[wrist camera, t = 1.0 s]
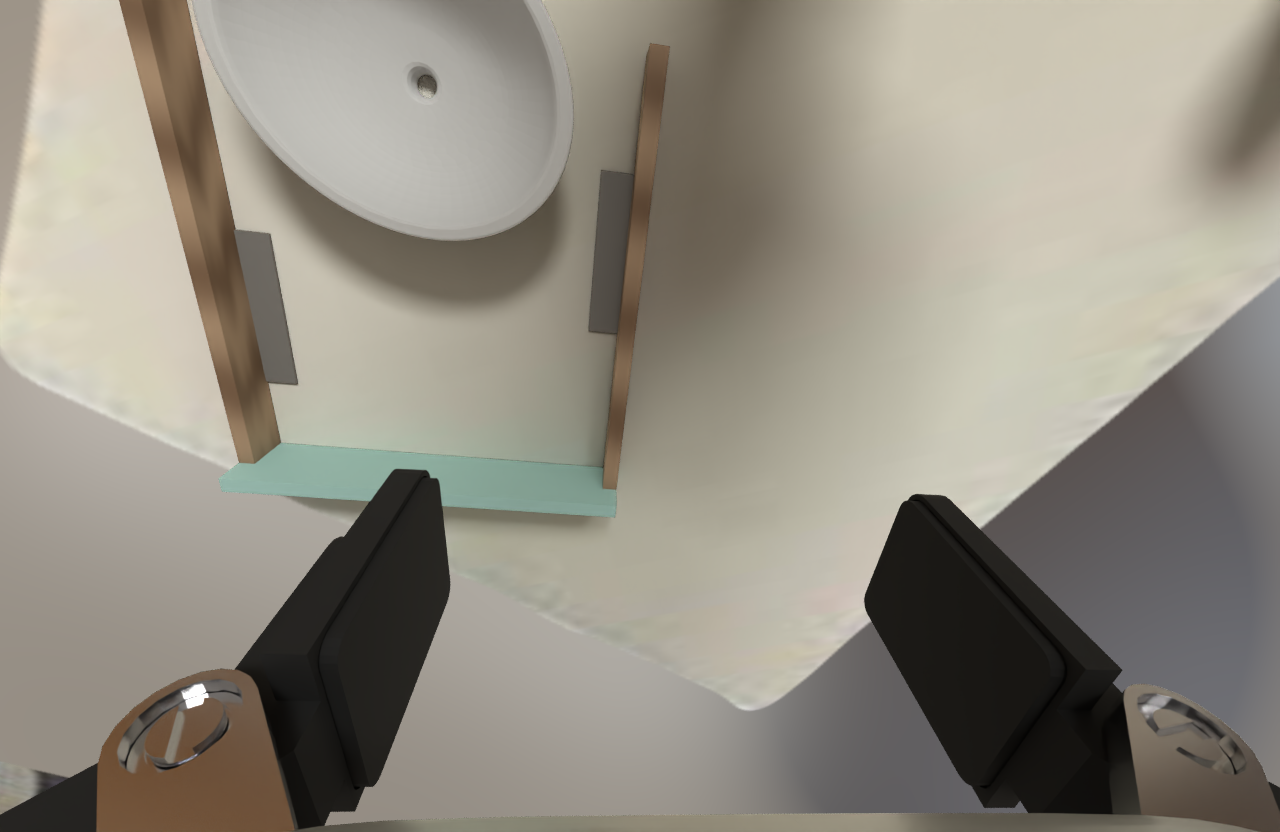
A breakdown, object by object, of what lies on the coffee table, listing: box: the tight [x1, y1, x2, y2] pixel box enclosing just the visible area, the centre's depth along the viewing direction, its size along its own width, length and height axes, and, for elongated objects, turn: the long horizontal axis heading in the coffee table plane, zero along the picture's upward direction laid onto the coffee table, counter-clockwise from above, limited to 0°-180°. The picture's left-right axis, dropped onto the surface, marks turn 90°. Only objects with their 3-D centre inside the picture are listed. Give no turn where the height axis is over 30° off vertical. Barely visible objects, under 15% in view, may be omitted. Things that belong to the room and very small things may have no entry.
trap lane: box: [119, 0, 670, 517], centre depth 30 cm, size 28×26×5 cm
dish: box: [192, 0, 574, 241], centre depth 26 cm, size 18×14×5 cm
